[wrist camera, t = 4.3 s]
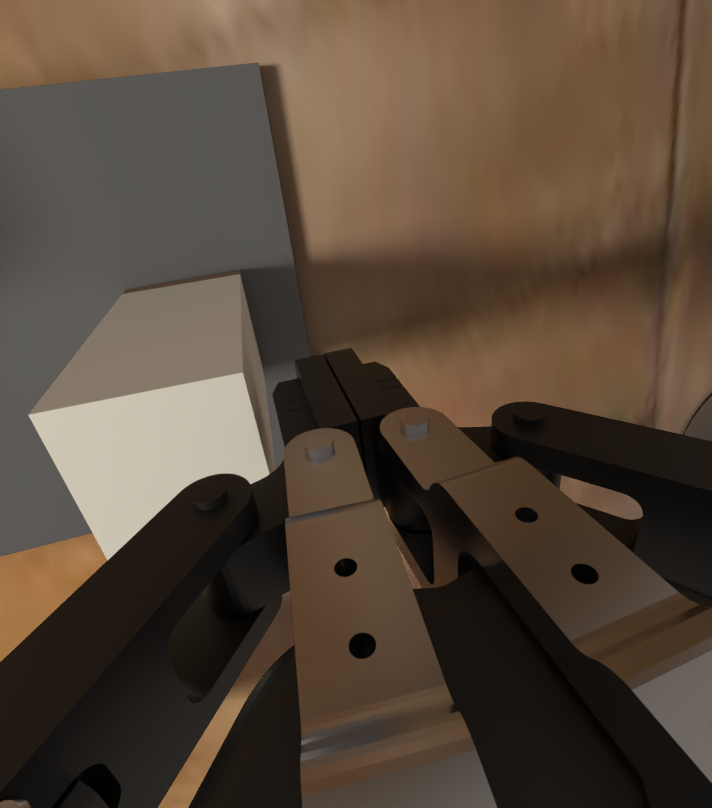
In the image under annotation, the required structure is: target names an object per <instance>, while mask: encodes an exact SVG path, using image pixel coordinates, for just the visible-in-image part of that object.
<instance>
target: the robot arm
mask: <svg viewBox="0 0 712 808" xmlns="http://www.w3.org/2000/svg"><path fill="white" fill-rule="evenodd" d="M294 364H295V370H296V376H297V379H293V380H288V381H283V382H279V383H278V384H277V386H276V388H275V389H274V391H273V393H272V395H273V400H274V404H275V408H276V413H277V417H278V422H279V426H280V430H281V435H282V439H283V444H284V448H285V449H284V460H283V461H282V463H281V464H280V466H279V467H278V468H277V469H276V470H275V471H273V472H272V473H271V474H269V475H268V476H266V477H264V478H262V479H261V480H259V481H256V482H254V483H252V484H250V483H249V482H248V480H246V479H245V478H244V477H242V476H239V475H236V474H216V475H211V476H207V477H204V478H202V479H199V480H197V481H195V482H193V483H191V484H190V485H188V486H187V487H185V488H184V489H183V490H182V491H181V492H179V493H178V494H177V495H176V496H175V497H174V498H173V499H172V500H171V501H170V502H169V503H168V504H167V505H166V506H165V507H164V508H163V509H162V510H160V511H159V512H158V513H157V514H156V515H155V516H154V517H153V518H152V519H151V520H150V521H149V522H148V523H147V524H146V525H145V526H144V527H143V528H141V529H140V530H139V531H138V532H137V533H136V534H135V535H134V536H133V537H132V538H131V539H130V540H129V541H128V542H127V543H126V544H125V545H124V546H123V547H121V548H120V549H119V550H118V551H117V552H116V553H115V554H114V555H113V556H112V557H111V558H110V559H109V560H108V561H107V562H106V563H105V564H104V565H102V566H101V567H100V568H99V569H98V570H97V571H96V572H95V573H94V574H93V575H92V576H91V577H90V578H89V579H88V580H87V581H86V582H85V583H83V584H82V585H81V586H80V587H79V588H78V589H77V590H76V591H75V592H74V593H73V594H72V595H71V596H70V597H69V598H68V599H67V600H66V601H65V602H63V603H62V604H61V605H60V606H59V607H58V608H57V609H56V610H55V611H54V612H53V613H52V614H51V615H50V616H49V617H48V618H47V619H46V620H44V621H43V622H42V623H41V624H40V625H39V626H38V627H37V628H36V629H35V630H34V631H33V632H32V633H31V634H30V635H29V636H28V637H27V638H26V639H24V640H23V641H22V642H21V643H20V644H19V645H18V646H17V647H16V648H15V649H14V650H13V651H12V652H11V653H10V654H9V655H8V656H7V657H5V658H4V659H3V660H2V661H1V662H0V808H158V806H159V805H160V803H161V801H162V800H163V798H164V796H165V795H166V793H167V792H168V790H169V788H170V787H171V785H172V783H173V782H174V780H175V779H176V777H177V775H178V774H179V772H180V770H181V769H182V767H183V766H184V764H185V762H186V761H187V759H188V757H189V756H190V754H191V752H192V751H193V749H194V748H195V746H196V744H197V743H198V741H199V739H200V738H201V736H202V735H203V733H204V731H205V730H206V728H207V726H208V725H209V723H210V722H211V720H212V718H213V717H214V715H215V713H216V712H217V710H218V709H219V707H220V705H221V704H222V702H223V700H224V699H225V697H226V696H227V694H228V692H229V691H230V689H231V687H232V686H233V684H234V683H235V681H236V679H237V678H238V676H239V674H240V673H241V671H242V670H243V668H244V666H245V665H246V663H247V661H248V660H249V658H250V657H251V655H252V653H253V652H254V650H255V648H256V647H257V645H258V644H259V642H260V640H261V639H262V637H263V635H264V634H265V632H266V631H267V629H268V627H269V626H270V624H271V622H272V621H273V619H274V618H275V616H276V614H277V612H278V611H279V609H280V606H281V601H282V595H283V594H284V593H286V592H288V591H289V590H290V593H291V605H292V618H293V631H294V643H295V645H294V646H292V647H291V648H290V649H288V650H287V651H286V652H285V653H284V654H283V655H282V656H281V657H280V658H279V659H278V660H277V661H276V662H275V663H274V664H273V665H272V666H271V667H270V668H269V669H268V671H267V672H266V673H265V674H264V675H263V676H262V678H261V679H260V681H259V682H258V683H257V685H256V686H255V688H254V689H253V691H252V692H251V693H250V695H249V697H248V698H247V700H246V702H245V704H244V705H243V707H242V709H241V711H240V713H239V714H238V716H237V718H236V720H235V722H234V724H233V726H232V728H231V729H230V731H229V733H228V735H227V737H226V739H225V741H224V742H223V744H222V746H221V748H220V750H219V752H218V754H217V755H216V757H215V759H214V761H213V763H212V765H211V767H210V768H209V770H208V772H207V774H206V776H205V778H204V780H203V781H202V783H201V785H200V787H199V789H198V791H197V793H196V795H195V796H194V798H193V800H192V802H191V804H190V806H189V808H712V396H711V397H710V398H709V399H708V400H707V401H706V402H705V403H704V404H703V405H702V407H701V408H700V409H699V411H698V412H697V413H696V415H695V416H694V417H693V419H692V421H691V423H690V424H689V426H688V428H687V430H686V431H685V434H684V435H681V434H677V433H672V432H668V431H663V430H659V429H654V428H650V427H645V426H641V425H636V424H632V423H627V422H623V421H618V420H614V419H609V418H605V417H600V416H596V415H591V414H587V413H582V412H578V411H573V410H569V409H564V408H560V407H555V406H551V405H546V404H542V403H536V402H514V403H510V404H506V405H504V406H501V407H500V408H498V409H497V410H496V411H495V412H494V413H493V415H492V426H491V427H457V426H456V425H455V424H454V423H453V422H451V421H450V420H449V419H448V418H447V417H446V416H445V415H444V414H443V413H441V412H439V411H437V410H434V409H430V408H425V407H420V406H419V405H418V404H417V402H416V401H415V400H414V399H413V397H412V396H411V395H410V394H409V393H408V391H407V390H406V389H405V388H404V387H403V386H402V384H401V383H400V381H399V380H398V379H396V376H395V375H394V374H393V373H392V371H391V370H390V369H389V368H388V367H386V366H383V365H381V364H379V363H377V362H371V363H366V364H362V362H361V361H360V359H359V358H358V357H357V355H356V354H355V352H354V351H353V349H352V348H349V349H344V350H339V351H334V352H330V353H325V354H323V355H322V354H320V355H316V356H311V357H306V358H301V359H297V360H294ZM561 475H564V476H567V477H570V478H574V479H577V480H580V481H584V482H587V483H590V484H594V485H597V486H600V487H604V488H607V489H610V490H614V491H617V492H620V493H623V494H626V495H628V496H630V497H632V498H633V499H634V500H636V501H637V502H638V503H639V505H640V506H641V508H642V511H643V517H641V518H639V519H635V520H628V519H623V518H620V517H617V516H614V515H611V514H608V513H605V512H602V511H599V510H596V509H593V508H589V507H586V506H583V505H580V504H577V503H575V502H573V501H572V500H571V499H570V498H569V497H568V496H567V495H565V494H564V493H563V492H562V491H561V490H560V489H559V488H560V481H561ZM384 507H385V508H386V510H387V512H388V516H389V521H388V518H387V515H386V513H385V510H384ZM398 547H399V549H400V551H401V552H402V554H403V556H404V558H405V559H406V561H407V563H408V564H409V566H410V568H411V570H412V571H413V573H414V575H415V577H416V578H417V580H418V582H419V583H420V585H421V587H422V588H421V589H412V586H411V583H410V580H409V578H408V575H407V572H406V569H405V566H404V563H403V561H402V558H401V555H400V552H399V549H398Z"/></svg>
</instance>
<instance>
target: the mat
mask: <svg viewBox="0 0 712 808" xmlns="http://www.w3.org/2000/svg"><path fill="white" fill-rule="evenodd" d="M238 270H240V273H241V277H242V281H243V285H244V290H245V294H246V298H247V302H248V307H249V311H250V315H251V319H252V323H253V328H254V332H255V336H256V340H257V344H258V349H259V353H260V357H261V361H262V365H263V370H264V378H265V386H266V395H267V403H268V411H269V419H270V428H271V436H272V444H273V452H274V461H275V469H277V468H278V467H279V466H280V464H281V463H282V461H283V460H284V449H285V448H284V444H283V439H282V435H281V430H280V426H279V422H278V417H277V413H276V408H275V404H274V400H273V395H272V393H273V391H274V389H275V388H276V386H277V384H278V383H279V382H283V381H288V380H293V379H297V376H296V370H295V364H294V360H297V359H301V358H306V357H311V354H310V348H309V343H308V337H307V332H306V326H305V320H304V315H303V309H302V304H301V298H300V292H299V287H298V281H297V276H296V270H295V264H294V259H293V253H292V248H291V242H290V236H289V231H288V225H287V220H286V214H285V208H284V203H283V197H282V192H281V186H280V180H279V175H278V169H277V164H276V158H275V152H274V147H273V141H272V136H271V130H270V124H269V119H268V113H267V108H266V102H265V96H264V91H263V85H262V80H261V74H260V68H259V63H250V64H241V65H231V66H222V67H212V68H203V69H193V70H184V71H174V72H164V73H155V74H145V75H136V76H126V77H117V78H107V79H97V80H88V81H78V82H69V83H59V84H50V85H40V86H30V87H21V88H11V89H2V90H0V556H4V555H8V554H12V553H16V552H20V551H24V550H27V549H31V548H35V547H39V546H43V545H47V544H51V543H55V542H59V541H63V540H67V539H70V538H74V537H78V536H82V535H86V534H90V533H92V531H91V529H90V527H89V526H88V524H87V522H86V520H85V518H84V516H83V515H82V513H81V511H80V509H79V507H78V505H77V504H76V502H75V500H74V498H73V496H72V494H71V493H70V491H69V489H68V487H67V485H66V483H65V482H64V480H63V478H62V476H61V474H60V472H59V471H58V469H57V467H56V465H55V463H54V461H53V460H52V458H51V456H50V454H49V452H48V450H47V449H46V447H45V445H44V443H43V441H42V439H41V438H40V436H39V434H38V432H37V430H36V428H35V427H34V425H33V423H32V421H31V419H30V417H29V416H28V414H29V413H30V412H31V410H32V409H33V408H34V407H35V405H36V404H37V403H38V401H39V400H40V399H41V398H42V396H43V395H44V394H45V392H46V391H47V390H48V389H49V387H50V386H51V385H52V383H53V382H54V381H55V380H56V378H57V377H58V376H59V374H60V373H61V372H62V371H63V369H64V368H65V367H66V365H67V364H68V363H69V362H70V360H71V359H72V358H73V356H74V355H75V354H76V353H77V351H78V350H79V349H80V347H81V346H82V345H83V344H84V342H85V341H86V340H87V338H88V337H89V336H90V335H91V333H92V332H93V331H94V329H95V328H96V327H97V326H98V324H99V323H100V322H101V320H102V319H103V318H104V317H105V315H106V314H107V313H108V311H109V310H110V309H111V308H112V306H113V305H114V304H115V302H116V301H117V300H118V299H119V297H120V296H121V295H122V293H123V292H124V291H125V290H126V289H132V288H138V287H143V286H149V285H155V284H161V283H167V282H173V281H179V280H185V279H191V278H197V277H203V276H209V275H215V274H221V273H227V272H233V271H238Z"/></svg>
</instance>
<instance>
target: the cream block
mask: <svg viewBox="0 0 712 808" xmlns="http://www.w3.org/2000/svg"><path fill="white" fill-rule="evenodd" d="M28 416H29V417H30V419H31V421H32V423H33V425H34V427H35V428H36V430H37V432H38V434H39V436H40V438H41V439H42V441H43V443H44V445H45V447H46V449H47V450H48V452H49V454H50V456H51V458H52V460H53V461H54V463H55V465H56V467H57V469H58V471H59V472H60V474H61V476H62V478H63V480H64V482H65V483H66V485H67V487H68V489H69V491H70V493H71V494H72V496H73V498H74V500H75V502H76V504H77V505H78V507H79V509H80V511H81V513H82V515H83V516H84V518H85V520H86V522H87V524H88V526H89V527H90V529H91V531H92V533H93V535H94V537H95V538H96V540H97V542H98V544H99V546H100V548H101V549H102V551H103V553H104V555H105V557H106V558H107V560H109V559H110V558H111V557H112V556H113V555H114V554H115V553H116V552H117V551H118V550H119V549H120V548H121V547H123V546H124V545H125V544H126V543H127V542H128V541H129V540H130V539H131V538H132V537H133V536H134V535H135V534H136V533H137V532H138V531H139V530H140V529H141V528H143V527H144V526H145V525H146V524H147V523H148V522H149V521H150V520H151V519H152V518H153V517H154V516H155V515H156V514H157V513H158V512H159V511H160V510H162V509H163V508H164V507H165V506H166V505H167V504H168V503H169V502H170V501H171V500H172V499H173V498H174V497H175V496H176V495H177V494H178V493H179V492H181V491H182V490H183V489H184V488H185V487H187V486H188V485H190V484H191V483H193V482H195V481H197V480H199V479H202V478H204V477H207V476H211V475H216V474H236V475H239V476H242V477H244V478H245V479H246V480H248V482H249V483H250V484H252V483H254V482H256V481H259V480H261V479H262V478H264V477H266V476H268V475H269V474H271V473H272V472H273V471H275V470H276V469H275V461H274V452H273V444H272V436H271V428H270V419H269V411H268V403H267V395H266V386H265V378H264V370H263V365H262V361H261V357H260V353H259V349H258V344H257V340H256V336H255V332H254V328H253V323H252V319H251V315H250V311H249V307H248V302H247V298H246V294H245V290H244V285H243V281H242V277H241V273H240V270H238V271H233V272H227V273H221V274H215V275H209V276H203V277H197V278H191V279H185V280H179V281H173V282H167V283H161V284H155V285H149V286H143V287H138V288H132V289H126V290H125V291H124V292H123V293H122V295H121V296H120V297H119V299H118V300H117V301H116V302H115V304H114V305H113V306H112V308H111V309H110V310H109V311H108V313H107V314H106V315H105V317H104V318H103V319H102V320H101V322H100V323H99V324H98V326H97V327H96V328H95V329H94V331H93V332H92V333H91V335H90V336H89V337H88V338H87V340H86V341H85V342H84V344H83V345H82V346H81V347H80V349H79V350H78V351H77V353H76V354H75V355H74V356H73V358H72V359H71V360H70V362H69V363H68V364H67V365H66V367H65V368H64V369H63V371H62V372H61V373H60V374H59V376H58V377H57V378H56V380H55V381H54V382H53V383H52V385H51V386H50V387H49V389H48V390H47V391H46V392H45V394H44V395H43V396H42V398H41V399H40V400H39V401H38V403H37V404H36V405H35V407H34V408H33V409H32V410H31V412H30V413H29V414H28Z"/></svg>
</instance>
